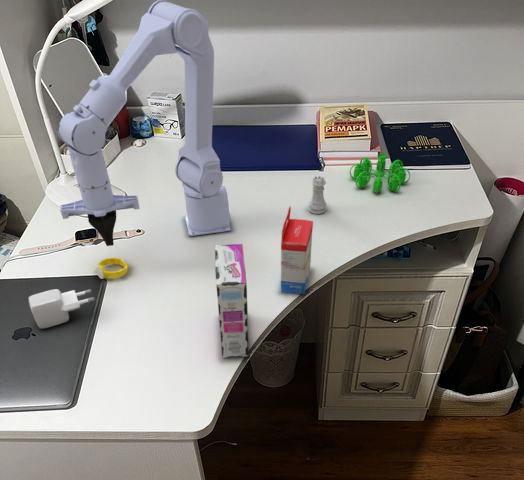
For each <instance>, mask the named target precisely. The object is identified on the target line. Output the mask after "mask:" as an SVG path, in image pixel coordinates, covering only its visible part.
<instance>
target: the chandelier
mask: <svg viewBox="0 0 524 480" xmlns="http://www.w3.org/2000/svg"><path fill="white" fill-rule="evenodd" d="M387 158H388V155H387V154H385V153H378V154H377V162H376V168H375V169H376V170H375V169H373V165H372V161H371V158H369V157H367V156H363V157H361V158H360V160H359V163H354V164H353V165H352V166H351V167H350V169H349V176H350V178H351V179H353V180H354V181H355V186H356V188H358V189H364V188H366V187H367V186H368V184H369V182H370V181H371V179H372V178H374V177H375V178H374V181H373V183H372V184H373V185H372V191H373V192H375V194H378V193H380V192H381V191H382V189H383V179H382V178H384V179H385V180H387V187H388V189H389V190H390V191H391V192H392V193H393V192H394V193H396V192H398V191H399V190H400V189H401V187H402V185H406V184H407V183H408V182H409V181H410V179H411V172H410V170H409V169H408V168H406V167H404V163H403V161H402V160H400V159H396V160H394V161H393V162H392V163H391V164H390V166H389V168H388V170H386V171H385V169H386V164H387V162H386V161H387ZM353 168H354V169H353ZM352 169H353V175H352V172H351V171H352ZM372 171H373V172H372ZM407 173H408V179H407V180H406V177H407ZM371 175H372V176H371ZM386 176H388V177H386Z"/></svg>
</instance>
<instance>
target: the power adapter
mask: <svg viewBox="0 0 524 480" xmlns="http://www.w3.org/2000/svg"><path fill="white" fill-rule="evenodd" d="M92 292H93V291H92V289H89V288H88V289H85V290H82V291H78V292H76V290H75V289H71V290H69V291H65V292H61V290H60V289H58V288H54V289H49V290H46V291H42V292H37V293H35V294H32V295H30V296H28V305H29V308H30V311H31V314H32V316H33V318H34V321H35V323H36V325H37V328H39V329H48V328H51V327H55V326H58V325H61V324H65V323H67V322H69V321H70V314H69V312H72V311H75V310H79V309H81V305H83V304H85V303H90V302H94V301H95V297H93V296H91V297H87V298H85V299H81V300H79V299H78V297H80V296H81V297H82V296H84V295H88V294H92Z"/></svg>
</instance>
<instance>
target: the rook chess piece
mask: <svg viewBox="0 0 524 480" xmlns="http://www.w3.org/2000/svg"><path fill="white" fill-rule="evenodd" d="M326 183H327V182H326V181H325V177H324V176H321V175H318V176H316V175H315V176H314V177H313V179H312V181H311V185H312V189H311V190H312V193H311V194H312V195H311V198H310V200H309V201H308V204H307V210H308V211H309V212H310V213H311V214H313V215H322V214H324V213H325V212H326V210H327V202H326V200H325V197H324V190H325V185H326Z"/></svg>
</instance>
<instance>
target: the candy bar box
mask: <svg viewBox="0 0 524 480" xmlns="http://www.w3.org/2000/svg"><path fill="white" fill-rule="evenodd" d="M214 267H215V268H214V270H215V285H216V286H215V287H216V297H217V310H218V321H219V332H220V333H219V334H220V344H221V345H220V346H221V358H222V359H235V358H236V359H237V358H248V357H249V355H250V352H249V351H250V349H249V348H250V346H249V345H250V344H249V343H250V342H249V312H248V310H249V308H248V307H249V306H248V284H247V283H248V282H247V275H246V274H247V273H246V264H245V255H244V246H243V244H242V243H233V244H231V243H230V244H218V245H217V244H216V245H214Z"/></svg>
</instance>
